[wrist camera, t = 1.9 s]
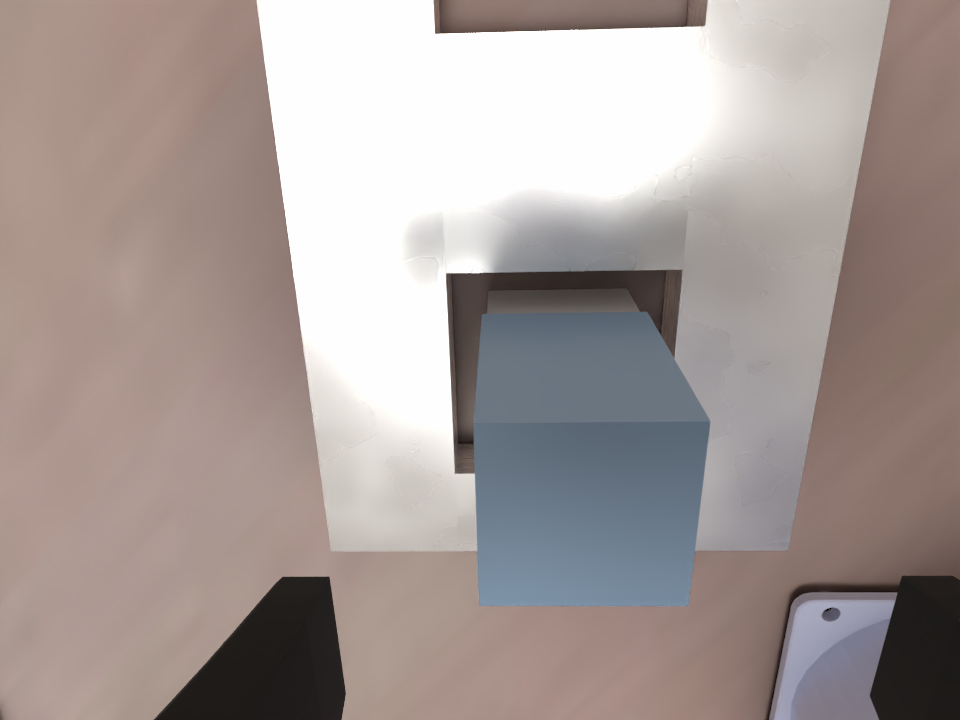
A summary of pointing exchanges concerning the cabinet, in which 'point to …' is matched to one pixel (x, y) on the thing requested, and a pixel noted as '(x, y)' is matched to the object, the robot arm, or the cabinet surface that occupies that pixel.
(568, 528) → the plug
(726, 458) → the panel
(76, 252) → the cabinet surface
